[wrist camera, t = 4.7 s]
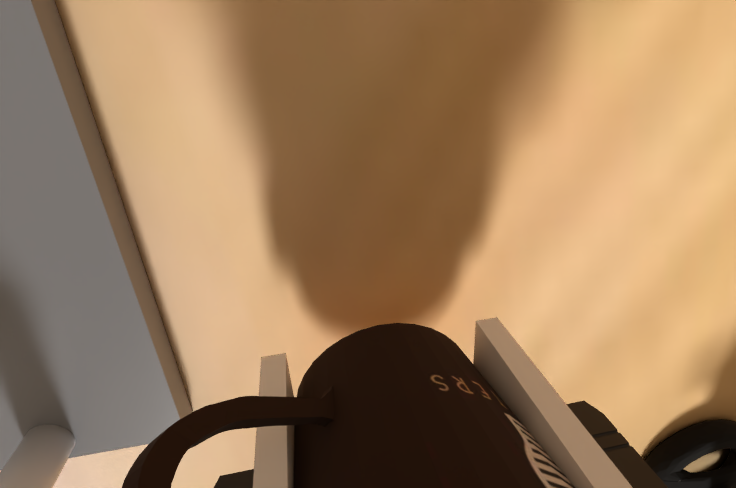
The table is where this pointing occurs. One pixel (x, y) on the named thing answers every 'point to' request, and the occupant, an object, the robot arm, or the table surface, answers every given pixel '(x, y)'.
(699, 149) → the table surface
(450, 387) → the coffee mug
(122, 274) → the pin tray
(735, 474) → the webcam
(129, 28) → the table surface
